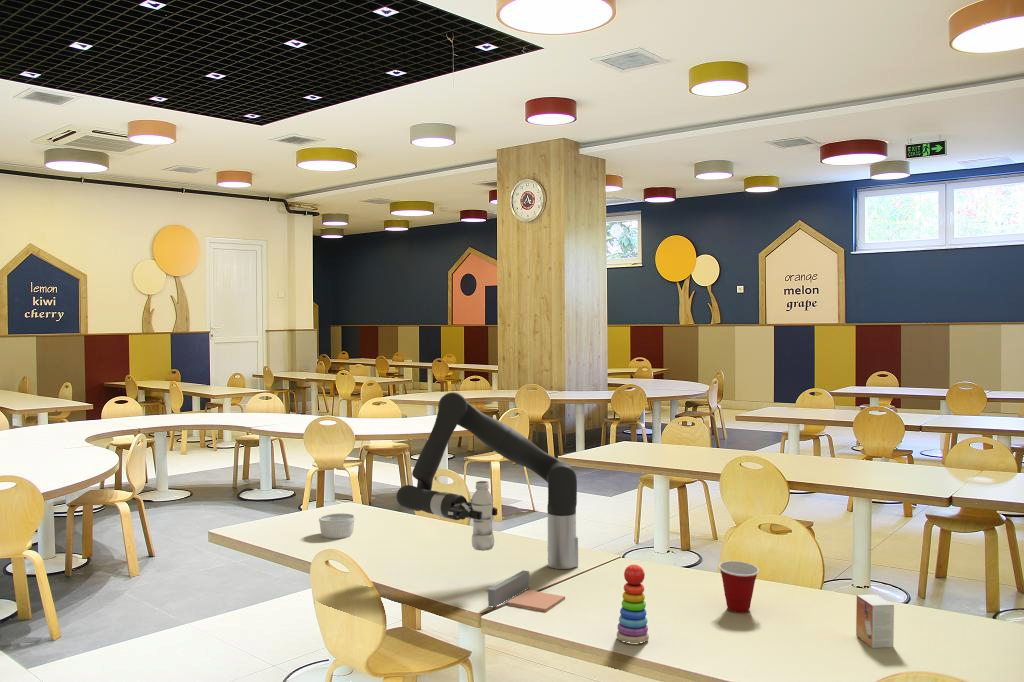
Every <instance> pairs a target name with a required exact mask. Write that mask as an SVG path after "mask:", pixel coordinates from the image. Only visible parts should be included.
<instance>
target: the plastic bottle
mask: <svg viewBox="0 0 1024 682" xmlns="http://www.w3.org/2000/svg"><path fill="white" fill-rule="evenodd" d="M489 485H490V482H489V481H486V480H479V481H476V482H475V490H476V491H475V492H474V493H473V495H472V496H471V499H470V502H471V504H472V510H474V511H479V512H481V513H482V519H480V520H477V519H473V518H472V520H473V521H472V523H473V524H472V525H473V527H472V536H471V545H472V548H473V550H474V551H481V552H482V551H483V552H484V551H490V550H493V547H495V536H494V532H493V531H494V530H493V515H492V510H493V507H494V498H493V495H492V494H491V492H490V491H489V489H490V486H489Z"/></svg>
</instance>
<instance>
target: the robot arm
mask: <svg viewBox="0 0 1024 682" xmlns="http://www.w3.org/2000/svg"><path fill="white" fill-rule="evenodd" d="M437 405H438V406H437V407H438V410H437V414H436V419H435V422H434V424H433V426H432V430H431V432H430V434H429V436H428V438H427V440H426V442H425V444H424V446H423V448H422V449H421V451H420V453H419V456H418V458H417V459H416V462H415V465H414V467H413V469H412V472H411V475H412V477H413V478H414V479H416V480H417V482H416V483H417V485H416V486H414V485H410V484H407V485H403V486H401V487H400V488H399V489H398V490H397V492H396V495H395V496H396V497H395V498H396V501H397V503H398V505H399V506H400V507H403V508H405V509H409V510H412V511H415V512H420V511H422V512H425V513H428V514H431V515H435V516H438V517H439V518H440V517H441V518H443V519H449V520H454V521H460V520H461V521H462V520H466V519H469V520H470V519H472V520H473V519H477V520H480V519H482V513H481V512H479V511H474V510H472V504H471V500H470V501H468V500H467V499H466V497H465V496H464V495H462V494H457V493H452V492H446V491H437V490H432V488H433V481H434V478H435V476H436V474H437V471H438V469H439V466H440V464H441V462H442V459H443V457H444V454H445V451H446V448H447V446H448V443H449V441H450V439H451V437H452V435H453V433H454V431H455V429H456V428H457V426H459V427H460V428H463V429H465V430H466V431H468V432H470V433H471V434H473V436H475V437H476V438H477V439H478V440H479V441H481V442H482V443H483V444H485V445H486V446H487V447H488V448H489V449H491V450H492V451H494V452H495V453H497V454H499V455H500V456H501V457H503V458H505V459H506V460H509V461H510V462H512V463H514V464H517V465H519V466H521V467H525V468H527V469H529V470H530V471H533V472H534V473H535V474H536V475H537V476H539V477H540V478H542V479H543V480H544V481H545V482H546V483H547V566H548V567H549V568H551V569H554V568H555V569H556V570H570V569H573V568H578V567H579V538H578V536H577V504H578V503H577V502H578V501H577V500H578V480H577V479H578V477H577V474H576V472H575V470H574V468H573V467H572V466H571V465H570V464H568V463H567V462H565V461H562V460H561V459H558V457H557V458H556V457H555V456H553V455H550V454H549V453H547V452H545V451H543V450H542V449H541V448H539V447H538V446H537V445H536V444H535V443H533V442H532V441H531V440H530V439H528V438H527V437H526V436H524V435H523V434H521V433H520V432H519V431H517V430H515V429H514V428H513V427H511V426H510V425H508V424H506V423H504V422H501V421H500V420H498V419H496V418H494V417H491V416H490V415H487V414H485V413H484V412H483V411H480V410H479V409H477V407H475V406H473V404H471V403H469V401H467V399H466V398H465V397H464V396H463V395H462V394H461V393H458V392H447V393H445V394H444V395H443V396H441V397H440V400H439V401H438V404H437ZM492 516H495V517H496V516H498V508H497V507H494V506H493V510H492Z"/></svg>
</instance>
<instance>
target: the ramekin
mask: <svg viewBox="0 0 1024 682" xmlns="http://www.w3.org/2000/svg"><path fill="white" fill-rule="evenodd" d="M355 520H356V516H355V515H354V514H352V513H346V512H345V513H344V512H342V513H329V514H324V515H322V516H320V517H319V518H318V522H319V526H320V527H319V528H320V534H321V536H322V537H323V538H325V539H333V540H335V539H336V540H337V539H343V538H345V539H346V538H348V537H350V536H351V535H353V533H354V529H355Z"/></svg>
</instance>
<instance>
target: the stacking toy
mask: <svg viewBox="0 0 1024 682" xmlns="http://www.w3.org/2000/svg"><path fill="white" fill-rule="evenodd" d="M623 576H624V580H625V582H626V583H625V584H624V585H623V590H624V591H623V593H622V601H621V608H620V609H619V611H620V612H619V614H620V616H619V617H618V622H619V623H618V624H617V632H616V638H617V639H618V641H620V640H622V641H625V642H630V643H640V642H644V641H647V640H648V641H649V639H650V637H649V636H650V635H649V633H648V632H649V631H648V630H649V627H648V625H647V624H648V618H647V609H646V606H647V604H646V603H647V602H646V601H645V599H646V595H645V593H644V592H645V586H644V585H643V584H642V583H643V582H644V580H645V570H644V568H642V566H640V565H638V564H630V565H628V566H627V567H626V568H625V569H624V571H623ZM648 641H647V642H648Z"/></svg>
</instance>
